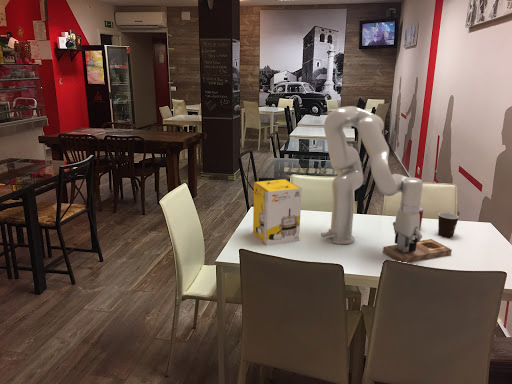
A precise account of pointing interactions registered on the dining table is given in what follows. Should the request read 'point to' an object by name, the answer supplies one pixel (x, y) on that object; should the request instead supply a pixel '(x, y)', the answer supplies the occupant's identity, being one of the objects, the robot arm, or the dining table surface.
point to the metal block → (403, 244)
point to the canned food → (420, 216)
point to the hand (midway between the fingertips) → (404, 247)
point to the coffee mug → (447, 224)
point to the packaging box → (276, 211)
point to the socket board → (419, 251)
